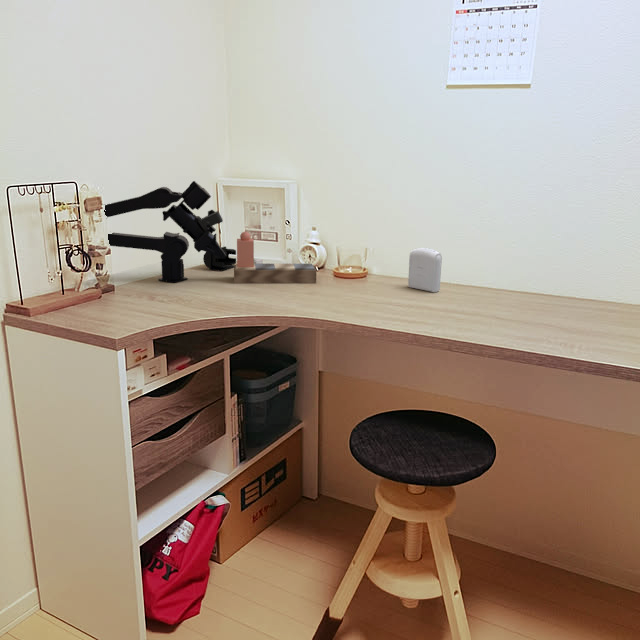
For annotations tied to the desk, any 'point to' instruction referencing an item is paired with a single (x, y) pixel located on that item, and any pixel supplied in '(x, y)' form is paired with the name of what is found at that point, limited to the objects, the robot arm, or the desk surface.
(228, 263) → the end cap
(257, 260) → the die
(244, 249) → the pawn
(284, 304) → the desk surface
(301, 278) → the track
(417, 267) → the photo printer
